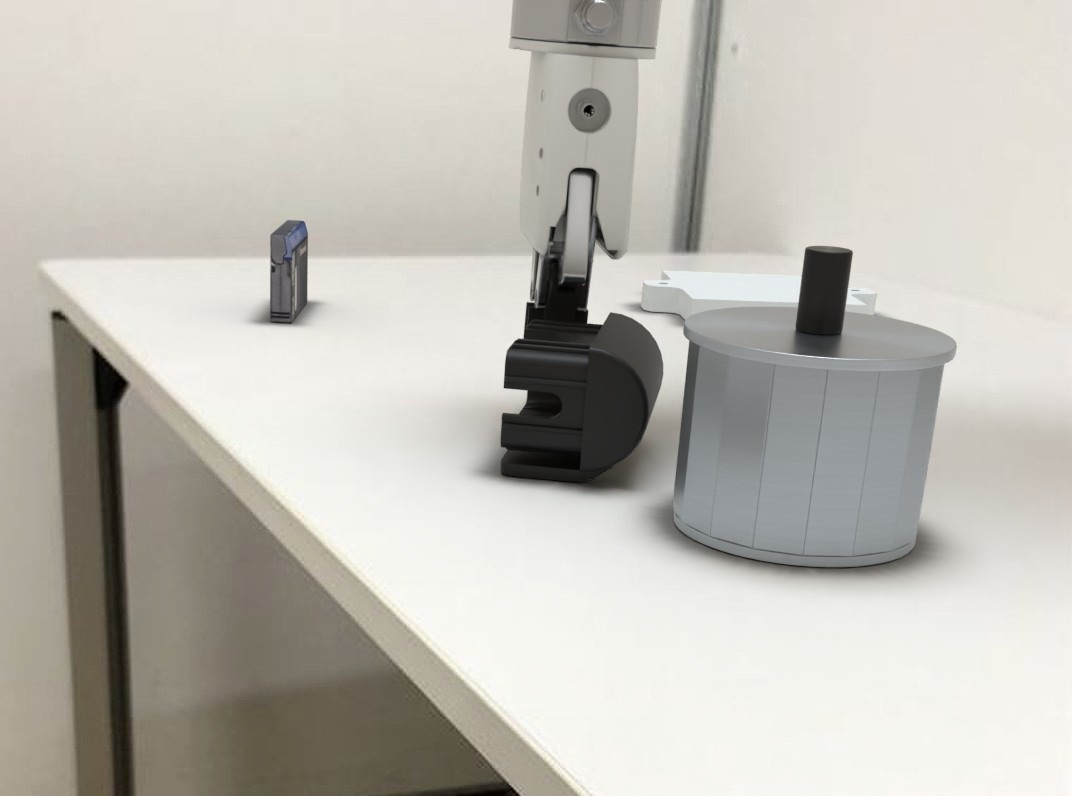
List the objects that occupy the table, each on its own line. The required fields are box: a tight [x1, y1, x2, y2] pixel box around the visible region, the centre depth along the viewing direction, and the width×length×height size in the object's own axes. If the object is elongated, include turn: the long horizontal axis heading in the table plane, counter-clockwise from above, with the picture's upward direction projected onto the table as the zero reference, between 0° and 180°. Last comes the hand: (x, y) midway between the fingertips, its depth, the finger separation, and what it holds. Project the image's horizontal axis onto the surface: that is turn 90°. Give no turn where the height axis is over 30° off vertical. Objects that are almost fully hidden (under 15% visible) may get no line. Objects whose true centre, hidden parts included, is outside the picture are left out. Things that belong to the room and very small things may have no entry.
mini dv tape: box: [269, 219, 309, 324], centre depth 116 cm, size 8×2×6 cm, turn 176°
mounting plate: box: [640, 270, 878, 321], centre depth 125 cm, size 18×13×2 cm
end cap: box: [500, 311, 664, 483], centre depth 82 cm, size 10×7×7 cm
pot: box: [672, 340, 945, 568], centre depth 72 cm, size 11×11×8 cm
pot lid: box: [682, 245, 958, 372], centre depth 70 cm, size 12×12×5 cm
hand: (550, 378), depth 89 cm, fingers closed
